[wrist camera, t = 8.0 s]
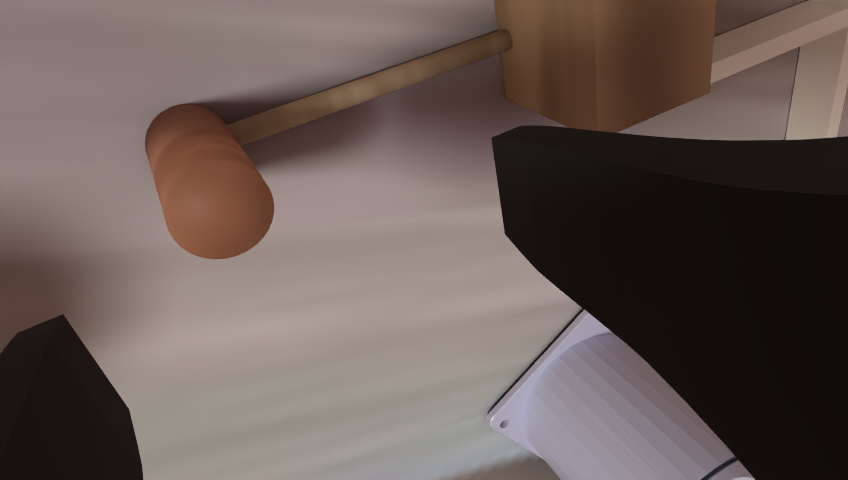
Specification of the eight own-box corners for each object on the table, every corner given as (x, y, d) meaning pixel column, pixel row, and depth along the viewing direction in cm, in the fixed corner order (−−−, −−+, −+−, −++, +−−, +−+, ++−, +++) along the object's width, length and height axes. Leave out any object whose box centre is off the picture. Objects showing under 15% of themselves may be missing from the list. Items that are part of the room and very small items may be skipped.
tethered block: (601, -68, 21) (722, -61, 17) (604, 60, 24) (709, 92, 20) (112, 84, 16) (124, 142, 12) (180, 223, 19) (207, 308, 15)
